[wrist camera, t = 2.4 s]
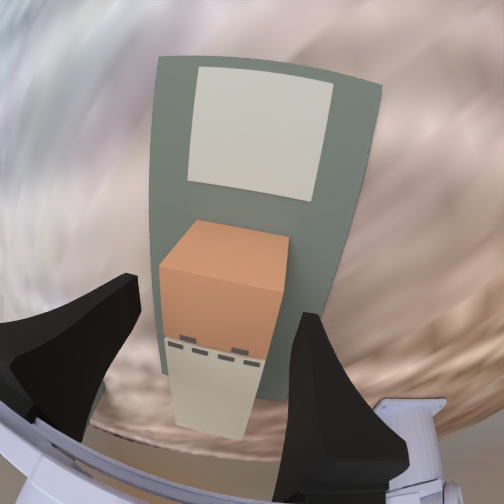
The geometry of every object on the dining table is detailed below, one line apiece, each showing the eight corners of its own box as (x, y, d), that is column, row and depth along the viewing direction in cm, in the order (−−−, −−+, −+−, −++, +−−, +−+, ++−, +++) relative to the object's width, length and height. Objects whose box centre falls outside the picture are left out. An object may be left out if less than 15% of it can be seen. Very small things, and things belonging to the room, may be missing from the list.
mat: (285, 399, 23) (284, 402, 22) (163, 371, 23) (162, 374, 23) (380, 85, 11) (382, 85, 11) (161, 57, 12) (158, 56, 11)
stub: (275, 296, 17) (265, 359, 13) (194, 279, 17) (163, 335, 13) (289, 237, 15) (283, 293, 11) (197, 219, 15) (158, 266, 11)
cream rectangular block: (252, 390, 22) (242, 441, 18) (194, 376, 22) (175, 425, 18) (275, 300, 17) (265, 363, 13) (194, 283, 18) (163, 339, 13)
